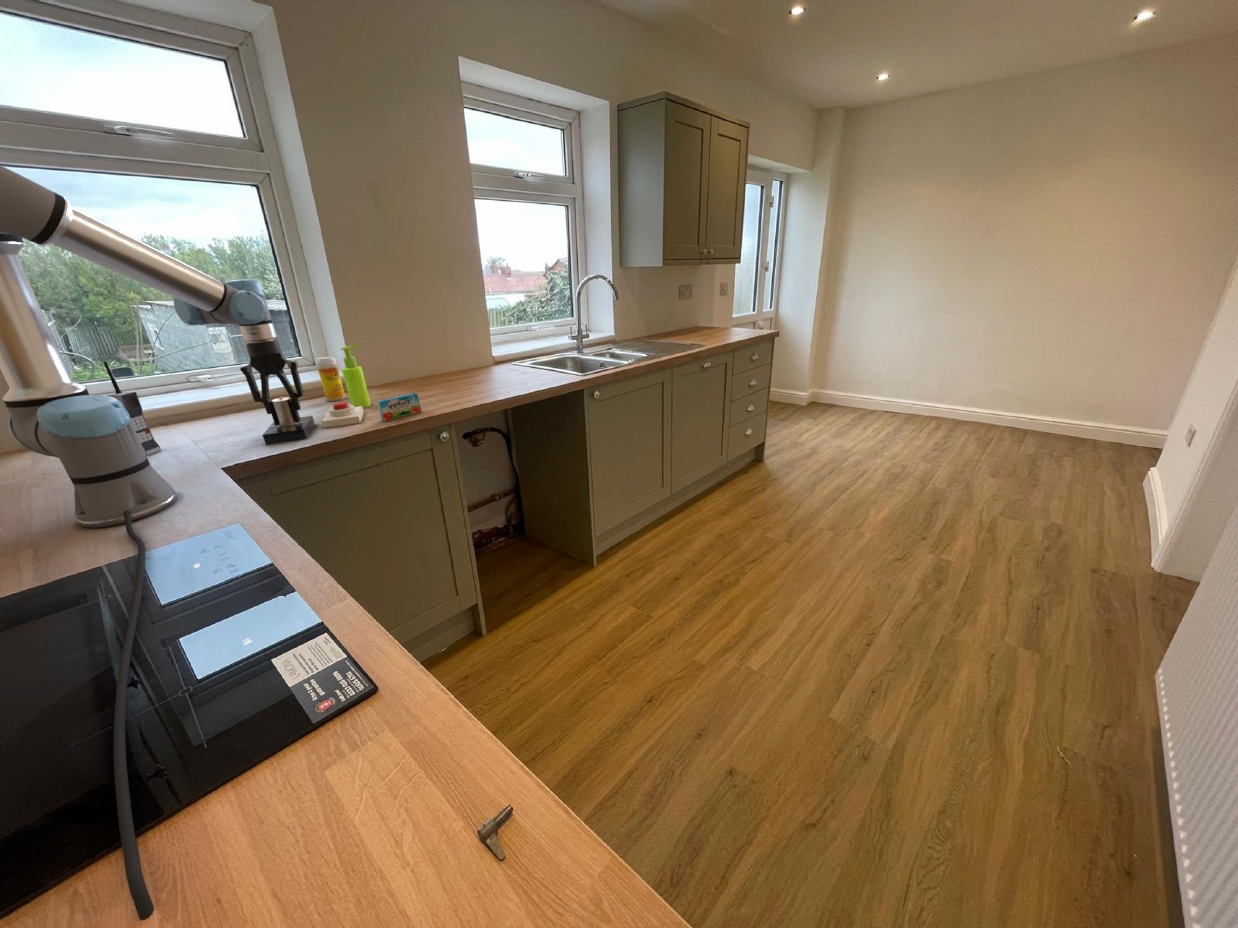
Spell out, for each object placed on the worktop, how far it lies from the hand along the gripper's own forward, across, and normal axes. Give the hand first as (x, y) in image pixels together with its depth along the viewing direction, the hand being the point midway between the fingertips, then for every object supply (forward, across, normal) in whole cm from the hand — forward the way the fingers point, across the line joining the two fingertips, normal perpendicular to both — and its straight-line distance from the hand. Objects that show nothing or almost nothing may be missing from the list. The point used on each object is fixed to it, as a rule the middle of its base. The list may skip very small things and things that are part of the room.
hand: (288, 422), depth 144 cm
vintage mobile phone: (+4, -35, +2) cm, 35 cm away
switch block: (+4, +13, +8) cm, 16 cm away
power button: (0, +13, +8) cm, 15 cm away
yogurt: (+4, +30, +3) cm, 30 cm away
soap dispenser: (+4, +17, +23) cm, 29 cm away
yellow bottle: (+4, +7, +38) cm, 39 cm away
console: (+4, 0, 0) cm, 4 cm away
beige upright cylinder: (+1, 0, 0) cm, 1 cm away
